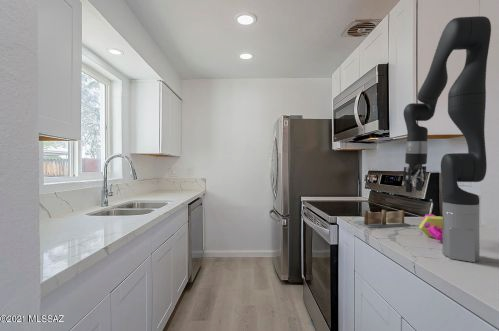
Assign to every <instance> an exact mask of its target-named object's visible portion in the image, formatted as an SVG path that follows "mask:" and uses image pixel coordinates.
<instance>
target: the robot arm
mask: <svg viewBox="0 0 499 331" xmlns="http://www.w3.org/2000/svg"><path fill="white" fill-rule="evenodd" d="M491 36H492V23H491V21H490V18H488V17H487V16H482V15H481V16H480V15H479V16H461V17H455V18H452V19H451V20H450V21H449V22H447V24H446V25H445V27H444V28H443V31H442V33H441V36H440V37H439V40H438V44H437V46H436V49H435V52H434V55H433V58H432V61H431V65H430V67H429V71H428V73H427V75H426V78H425V80H424V81H423V83H422V84H421V87H420V88H419V91H418V92H417V95H416V97H417V100H418V101H419V102H420V103H419V102H418V103H417V102H416V103H409V104H407V105H405V107H404V110H403V119H404V122H405V126H406V131H407V136H406V145H405V146H406V147H405V157H404V158H405V160H404V162H405V164H407V165H408V166H404V167H403V176H402V181H403V182H404V183H405V192H406V193H413V185H414V180H416V181H415V182H416V183H415V191H419V192H422V191H423V187H424V186H423V184H424V181H427V166H426V164H427V161H428V135H429V134H428V128H427V127H426V126H422V125H421V126H420V125H419V124H418V122H426V121H430V120H431V119H433V117H434V115H435V113H436V108H437V104H438V100H439V98H440V97H441V95H442V94H443V91H444V90H445V88H446V85H447V84H448V80H449V78H448V76H449V75H448V70H447V64H448V63H447V62H448V59H449V57H450V55H451V54H452V53H453V51H459V50H460V51H461V50H465V62H464V65H463V69H462V70H461V72H460V74H459V75H458V76H457V78H456V79H455V80H454V82H453V84H452V85H451V87H450V88H449V91H448V94H447V114H448V116H449V118H450V119H451V121H452V123H454V125H455V126H456V128H458V130H459V131H460V132H461V133H462V135H463V137H464V139H465V141H466V144H467V145H466V146H467V152H465V153H464V152H462V153H459V152H457V153H454V152H453V153H445V154H444V155H443V156H442V157H441V160H440V175H441V194H442V195H441V196H442V217H443V242H442V255H444V256H445V257H447V258H449V259H452V260H458V261H463V262H464V261H466V262H470V263H476V262H478V261H480V258H481V256H480V252H481V251H480V249H481V248H480V196H479V195H478V194H476V193H473V192H469V191H467V190H465V189H462V188H461V187H459V185H458V184H459V183H479V182H482V181H483V180H484V179H485V177H486V174H487V167H488V166H487V152H486V151H487V150H486V139H485V138H486V137H485V125H486V124H485V118H486V102H487V90H486V86H487V84H486V82H487V66H488V65H487V64H488V56H489V49H490V43H491ZM458 182H459V183H458Z"/></svg>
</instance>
